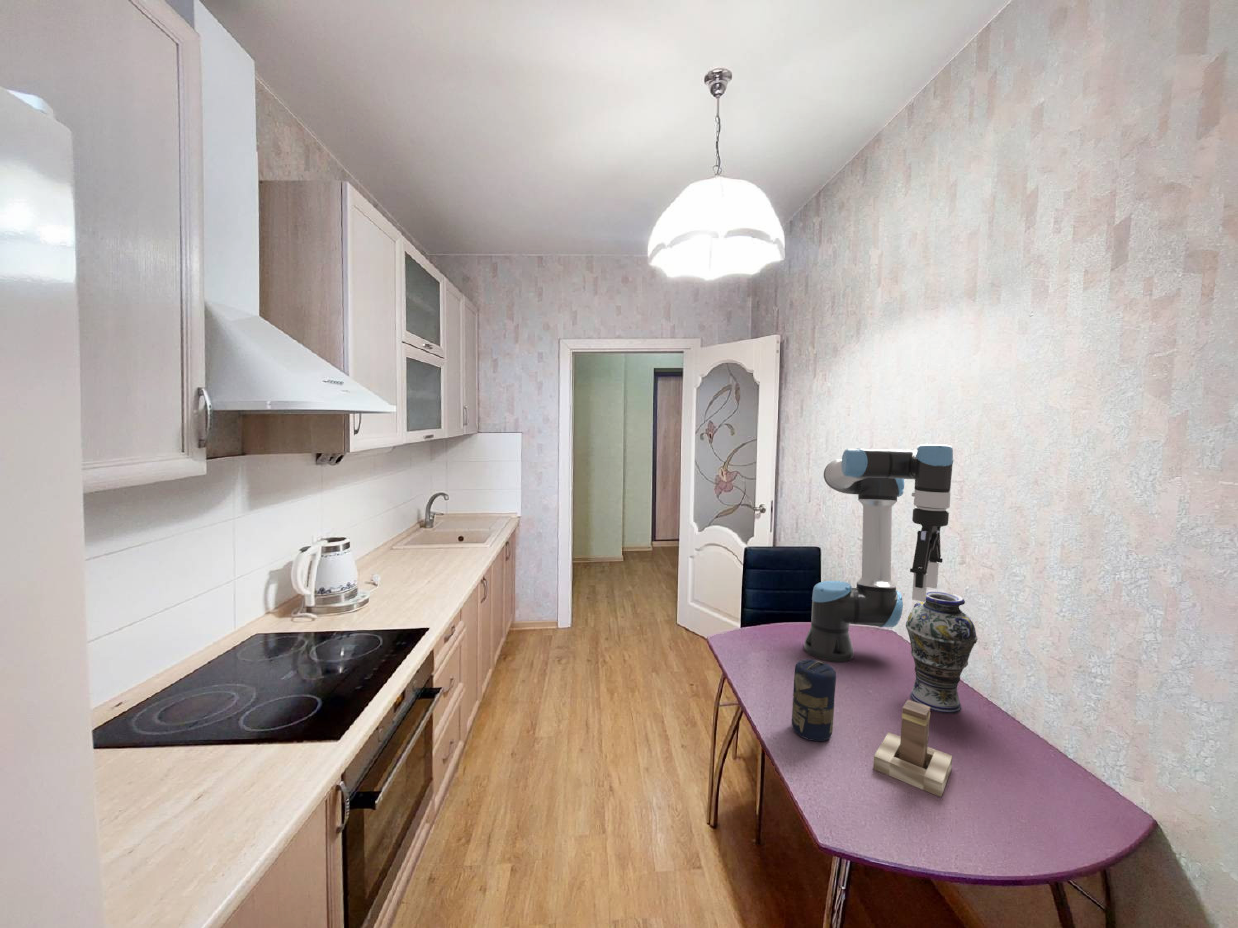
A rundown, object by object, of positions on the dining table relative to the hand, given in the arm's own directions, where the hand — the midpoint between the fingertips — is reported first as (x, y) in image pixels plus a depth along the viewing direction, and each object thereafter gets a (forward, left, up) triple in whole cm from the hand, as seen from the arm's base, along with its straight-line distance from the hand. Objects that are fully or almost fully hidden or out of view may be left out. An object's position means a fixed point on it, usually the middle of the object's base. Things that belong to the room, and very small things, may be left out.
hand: (924, 593), depth 129 cm
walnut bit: (+18, +3, -34) cm, 39 cm away
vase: (-18, +1, -35) cm, 39 cm away
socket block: (+18, +3, -35) cm, 39 cm away
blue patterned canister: (+20, -19, -35) cm, 44 cm away
